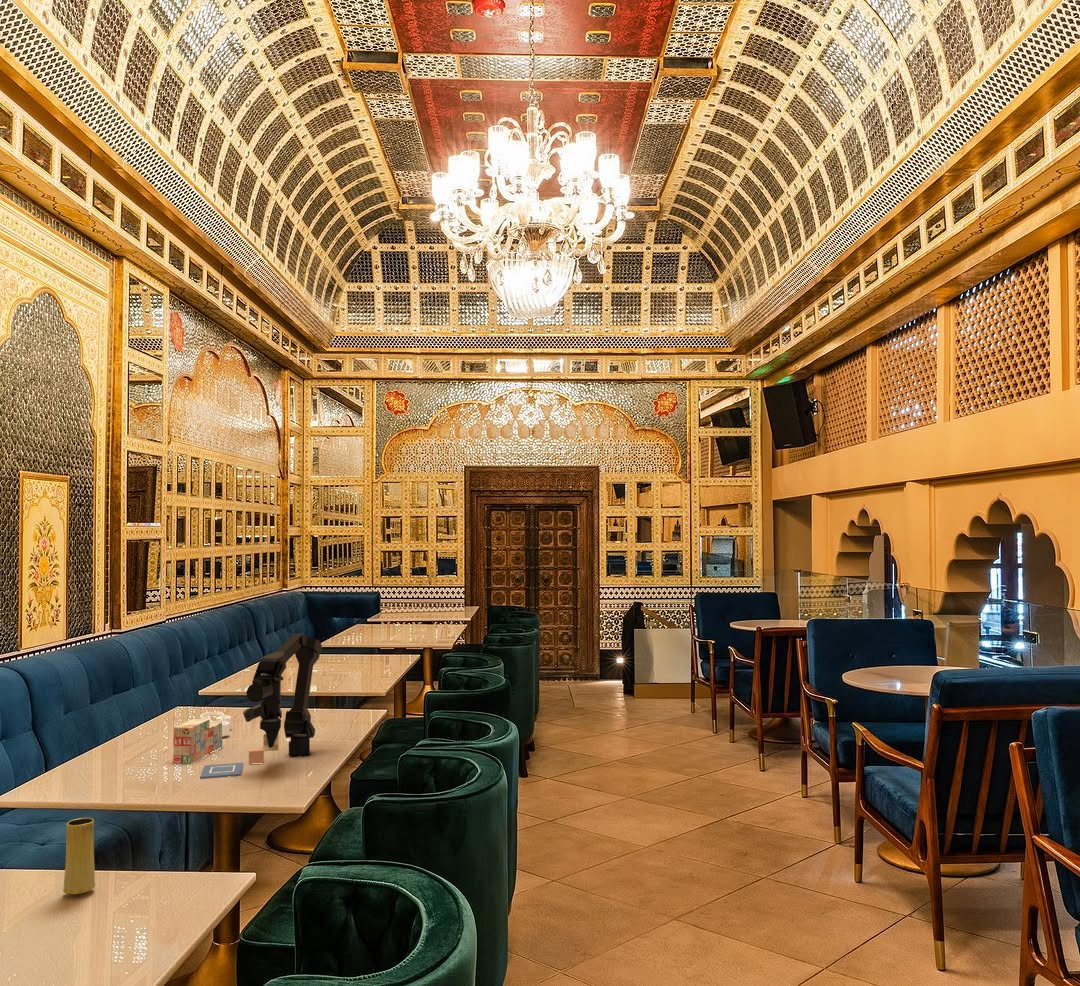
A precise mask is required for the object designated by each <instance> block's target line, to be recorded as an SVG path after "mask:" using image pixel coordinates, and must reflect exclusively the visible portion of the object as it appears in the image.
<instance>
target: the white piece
mask: <svg viewBox="0 0 1080 986" xmlns="http://www.w3.org/2000/svg"><path fill="white" fill-rule="evenodd" d="M211 716H216V717H215V721H213V720H212V719H211ZM199 719H209V722H220V723H222V737H225V736H229V735H230V734H231V730H230V729H232V716H231V715H227V714H225V713H223V711H206V712H203V713H201V714H200V716H199Z"/></svg>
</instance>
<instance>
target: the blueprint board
mask: <svg viewBox="0 0 1080 986" xmlns="http://www.w3.org/2000/svg"><path fill="white" fill-rule="evenodd" d="M243 763H244V762H234V763H221V764H220V763H218V764H207V765H206V764H205V765H204V766H203V768H202V771H201V773H200V776H199V780H200V779H201V780H204V779H216V778H215V777H217V778H228V776H231V777H240V775H241V776H242V773H243V769H242V768H244V764H243ZM241 772H242V773H241Z"/></svg>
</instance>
